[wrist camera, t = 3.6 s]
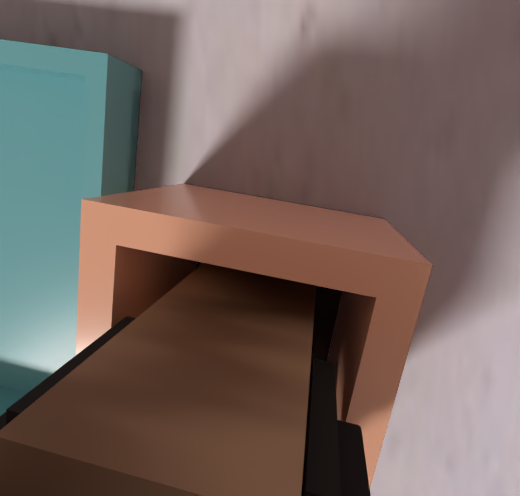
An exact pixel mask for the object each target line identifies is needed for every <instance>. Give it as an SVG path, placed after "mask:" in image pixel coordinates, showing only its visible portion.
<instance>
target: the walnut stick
mask: <svg viewBox="0 0 520 496" xmlns="http://www.w3.org/2000/svg"><path fill="white" fill-rule="evenodd" d="M315 297H316V285H311V284H306V283H301V282H296V281H291V280H286V279H282V278H277V277H272V276H267V275H262V274H257V273H252V272H247V271H242V270H237V269H232V268H227V267H222V266H217V265H212V264H207V263H203V264H202V265H200V266H199V267H198V268H197V269H195V270H194V271H193V272H192V273H191V274H189V275H188V276H187V277H186V278H185V279H183V280H182V281H181V282H180V283H178V284H177V285H176V286H175V287H174V288H172V289H171V290H170V291H169V292H167V293H166V294H165V295H164V296H163V297H161V298H160V299H159V300H158V301H157V302H155V303H154V304H153V305H152V306H150V307H149V308H148V309H147V310H146V311H144V312H143V313H142V314H141V315H140V316H138V317H137V318H136V319H135V320H133V321H132V322H131V323H130V324H129V325H127V326H126V327H125V328H124V329H122V330H121V331H120V332H119V333H118V334H116V335H115V336H114V337H113V338H112V339H110V340H109V341H108V342H107V343H105V344H104V345H103V346H102V347H101V348H99V349H98V350H97V351H96V352H95V353H93V354H92V355H91V356H90V357H88V358H87V359H86V360H85V361H84V362H82V363H81V364H80V365H79V366H77V367H76V368H75V369H74V370H73V371H71V372H70V373H69V374H68V375H67V376H65V377H64V378H63V379H62V380H60V381H59V382H58V383H57V384H56V385H54V386H53V387H52V388H51V389H50V390H48V391H47V392H46V393H45V394H43V395H42V396H41V397H40V398H39V399H37V400H36V401H35V402H34V403H32V404H31V405H30V406H29V407H28V408H26V409H25V410H24V411H23V412H22V413H20V414H19V415H18V416H17V417H15V418H14V419H13V420H12V421H11V422H9V423H8V424H7V425H6V426H5V427H3V428H2V429H1V430H0V496H301V492H302V478H303V464H304V450H305V436H306V422H307V408H308V395H309V381H310V367H311V353H312V339H313V325H314V311H315Z"/></svg>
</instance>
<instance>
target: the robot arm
mask: <svg viewBox="0 0 520 496" xmlns="http://www.w3.org/2000/svg"><path fill="white" fill-rule="evenodd" d="M135 319H136V318H134V317H129V316H127V317H125V318H123V319H122V320H121V321H120V322H118V323H117V324H116V325H114V326H113V327H112V328H111V329H109V330H108V331H107V332H105V333H104V334H103V335H102V336H100V337H99V338H98V339H96V340H95V341H94V342H92V343H91V344H90V345H89V346H87V347H86V348H85V349H83V350H82V351H81V352H80V353H78V354H77V355H76V356H74V357H73V358H72V359H71V360H69V361H68V362H67V363H65V364H64V365H63V366H62V367H60V368H59V369H58V370H56V371H55V372H54V373H53V374H51V375H50V376H49V377H47V378H46V379H45V380H44V381H42V382H41V383H40V384H38V385H37V386H36V387H35V388H33V389H32V390H31V391H29V392H28V393H27V394H26V395H24V396H23V397H22V398H20V399H19V400H18V401H16V402H15V403H14V404H13V405H11V406H10V407H9V408H7V409H6V412H5V413H4V414H2V415H1V416H0V430H1V429H2V428H3V427H5V426H6V425H7V424H8V423H9V422H11V421H12V420H13V419H14V418H15V417H17V416H18V415H19V414H20V413H22V412H23V411H24V410H25V409H26V408H28V407H29V406H30V405H31V404H32V403H34V402H35V401H36V400H37V399H39V398H40V397H41V396H42V395H43V394H45V393H46V392H47V391H48V390H50V389H51V388H52V387H53V386H54V385H56V384H57V383H58V382H59V381H60V380H62V379H63V378H64V377H65V376H67V375H68V374H69V373H70V372H71V371H73V370H74V369H75V368H76V367H77V366H79V365H80V364H81V363H82V362H84V361H85V360H86V359H87V358H88V357H90V356H91V355H92V354H93V353H95V352H96V351H97V350H98V349H99V348H101V347H102V346H103V345H104V344H105V343H107V342H108V341H109V340H110V339H112V338H113V337H114V336H115V335H116V334H118V333H119V332H120V331H121V330H122V329H124V328H125V327H126V326H127V325H129V324H130V323H131V322H132V321H133V320H135ZM301 496H370V488H369V481H368V474H367V466H366V459H365V451H364V444H363V437H362V430H361V427H360V426H359V425H356V424H352V423H348V422H344V421H340V420H337V400H336V378H335V363H331V362H327V361H323V360H318V359H314V358H313V360H312V364H311V367H310V381H309V395H308V408H307V422H306V436H305V450H304V464H303V478H302V492H301Z"/></svg>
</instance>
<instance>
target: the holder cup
mask: <svg viewBox="0 0 520 496" xmlns="http://www.w3.org/2000/svg"><path fill="white" fill-rule="evenodd" d="M197 261H198V262H203V263H207V264H212V265H217V266H222V267H227V268H232V269H237V270H242V271H247V272H252V273H257V274H262V275H267V276H272V277H277V278H282V279H286V280H291V281H296V282H301V283H306V284H311V285H316V286H321V287H326V288H331V289H336V290H341V291H342V295H341V299H340V304H339V308H338V313H337V317H336V322H335V326H334V330H333V335H332V339H331V344H330V348H329V353H328V357H327V362H331V363H335V378H336V400H337V420H340V421H344V422H348V423H352V424H356V425H359V426H360V427H361V430H362V437H363V444H364V451H365V459H366V466H367V474H368V481H369V488H370V486H371V482H372V479H373V475H374V472H375V468H376V465H377V461H378V457H379V454H380V450H381V447H382V443H383V440H384V436H385V433H386V429H387V426H388V422H389V418H390V415H391V411H392V408H393V404H394V401H395V397H396V394H397V390H398V387H399V383H400V379H401V376H402V372H403V369H404V365H405V362H406V358H407V355H408V351H409V348H410V344H411V340H412V337H413V333H414V330H415V326H416V323H417V319H418V316H419V312H420V309H421V305H422V301H423V298H424V294H425V291H426V287H427V284H428V280H429V277H430V273H431V270H432V266H433V265H432V264H431V263H430V262H429V261H428V260H427V259H426V258H425V257H424V256H423V255H422V254H421V253H419V252H418V251H417V250H416V249H415V248H414V247H413V246H412V245H411V244H410V243H409V242H408V241H407V240H406V239H405V238H404V237H403V236H402V235H401V234H400V233H399V232H398V231H397V230H395V229H394V228H393V227H392V226H391V225H390V224H389V223H388V222H387V221H386V220H385V219H382V218H376V217H370V216H365V215H359V214H353V213H348V212H342V211H336V210H331V209H325V208H319V207H314V206H308V205H302V204H296V203H291V202H285V201H279V200H274V199H268V198H262V197H257V196H251V195H245V194H240V193H234V192H228V191H223V190H217V189H211V188H205V187H200V186H194V185H188V184H178V185H171V186H164V187H158V188H151V189H145V190H138V191H131V192H125V193H118V194H112V195H105V196H99V197H92V198H85V199H81V224H80V252H79V279H78V307H77V335H76V355H77V354H78V353H80V352H81V351H82V350H83V349H85V348H86V347H87V346H89V345H90V344H91V343H92V342H94V341H95V340H96V339H98V338H99V337H100V336H102V335H103V334H104V333H105V332H107V331H108V330H109V329H111V328H112V327H113V326H114V325H116V324H117V323H118V322H120V321H121V320H122V319H123V318H125V317H127V316H129V317H134V318H137V317H138V316H140V315H141V314H142V313H143V312H144V311H146V310H147V309H148V308H149V307H150V306H152V305H153V304H154V303H155V302H157V301H158V300H159V299H160V298H161V297H163V296H164V295H165V294H166V293H167V292H169V291H170V290H171V289H172V288H174V287H175V286H176V285H177V284H178V283H180V282H181V281H182V280H183V279H185V278H186V277H187V276H188V275H189V274H191V273H192V272H193V271H194V270H195V269H196V265H197Z"/></svg>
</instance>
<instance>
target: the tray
mask: <svg viewBox="0 0 520 496" xmlns="http://www.w3.org/2000/svg"><path fill="white" fill-rule="evenodd" d="M141 77H142V70H140V69H138V68H136V67H134V66H132V65H130V64H128V63H126V62H124V61H122V60H120V59H118V58H116V57H114V56H112V55H110V54H107V53H100V52H92V51H85V50H77V49H70V48H62V47H55V46H47V45H40V44H32V43H24V42H17V41H9V40H2V39H0V416H1V415H2V414H4V413H5V412H6V409H7V408H9V407H10V406H11V405H13V404H14V403H15V402H16V401H18V400H19V399H20V398H22V397H23V396H24V395H26V394H27V393H28V392H29V391H31V390H32V389H33V388H35V387H36V386H37V385H38V384H40V383H41V382H42V381H44V380H45V379H46V378H47V377H49V376H50V375H51V374H53V373H54V372H55V371H56V370H58V369H59V368H60V367H62V366H63V365H64V364H65V363H67V362H68V361H69V360H71V359H72V358H73V357H74V356H76V335H77V307H78V279H79V252H80V224H81V199H85V198H92V197H99V196H105V195H112V194H118V193H125V192H131V191H134V176H135V162H136V148H137V134H138V120H139V105H140V91H141Z"/></svg>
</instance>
